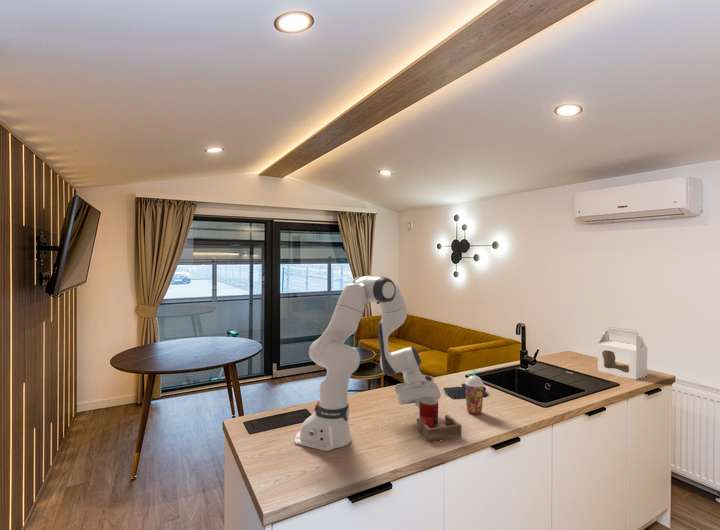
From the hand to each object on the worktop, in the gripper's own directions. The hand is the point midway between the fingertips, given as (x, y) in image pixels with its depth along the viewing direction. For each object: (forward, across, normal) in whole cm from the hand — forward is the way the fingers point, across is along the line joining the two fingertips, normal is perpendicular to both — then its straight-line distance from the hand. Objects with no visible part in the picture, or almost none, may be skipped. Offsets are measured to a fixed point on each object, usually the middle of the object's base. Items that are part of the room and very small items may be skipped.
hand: (423, 411), depth 169 cm
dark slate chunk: (-14, +36, +21) cm, 44 cm away
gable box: (-14, +148, +21) cm, 150 cm away
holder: (+12, 0, -6) cm, 13 cm away
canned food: (+6, 0, 0) cm, 6 cm away
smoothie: (+3, +26, +4) cm, 27 cm away
